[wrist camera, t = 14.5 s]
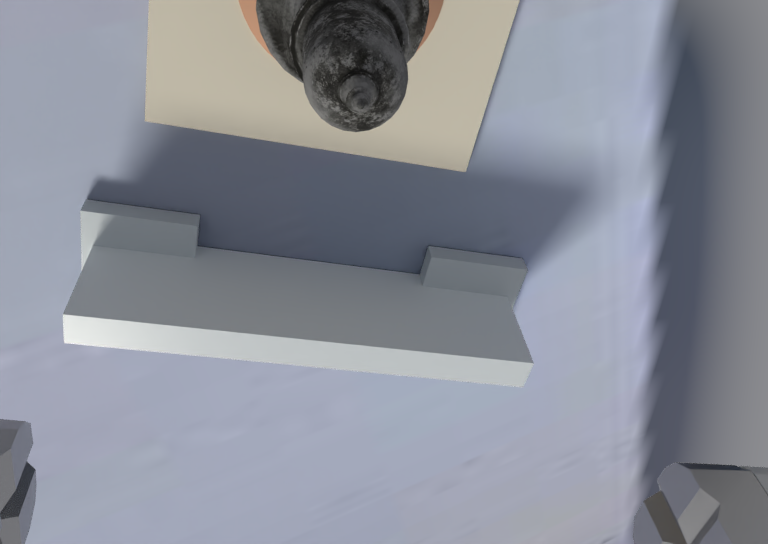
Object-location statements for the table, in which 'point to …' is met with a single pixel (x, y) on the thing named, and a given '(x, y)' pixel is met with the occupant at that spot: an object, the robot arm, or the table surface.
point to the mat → (287, 94)
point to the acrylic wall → (292, 303)
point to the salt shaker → (346, 53)
